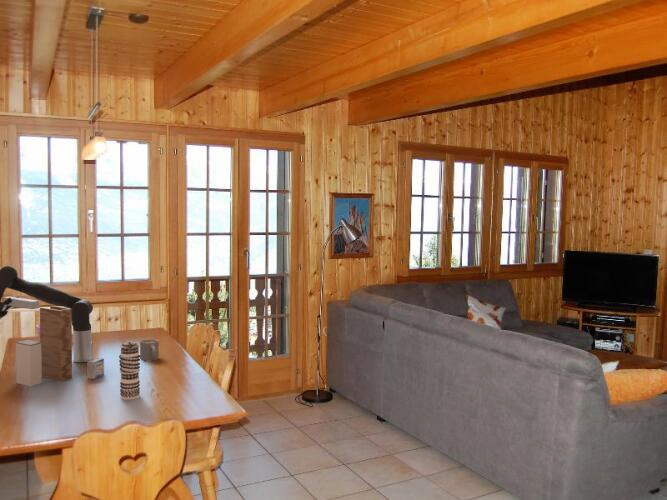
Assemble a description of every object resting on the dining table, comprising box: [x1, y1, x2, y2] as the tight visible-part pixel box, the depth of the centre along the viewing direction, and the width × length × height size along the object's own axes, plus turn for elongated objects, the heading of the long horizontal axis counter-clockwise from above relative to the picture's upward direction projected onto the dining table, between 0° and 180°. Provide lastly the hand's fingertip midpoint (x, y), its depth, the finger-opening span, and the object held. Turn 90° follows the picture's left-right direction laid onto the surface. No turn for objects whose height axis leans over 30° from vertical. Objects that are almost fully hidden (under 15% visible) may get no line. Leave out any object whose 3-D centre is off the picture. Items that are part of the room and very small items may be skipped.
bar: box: [2, 295, 40, 310], centre depth 291 cm, size 4×21×4 cm, turn 63°
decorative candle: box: [118, 340, 141, 400], centre depth 274 cm, size 9×9×25 cm
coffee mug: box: [139, 338, 160, 361], centre depth 339 cm, size 13×10×10 cm
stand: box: [39, 305, 73, 382], centre depth 300 cm, size 7×14×35 cm, turn 64°
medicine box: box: [86, 357, 105, 380], centre depth 304 cm, size 8×4×9 cm, turn 168°
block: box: [15, 339, 43, 387], centre depth 291 cm, size 6×10×20 cm, turn 64°
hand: (14, 298), depth 292 cm, fingers closed on bar, 3 cm apart
